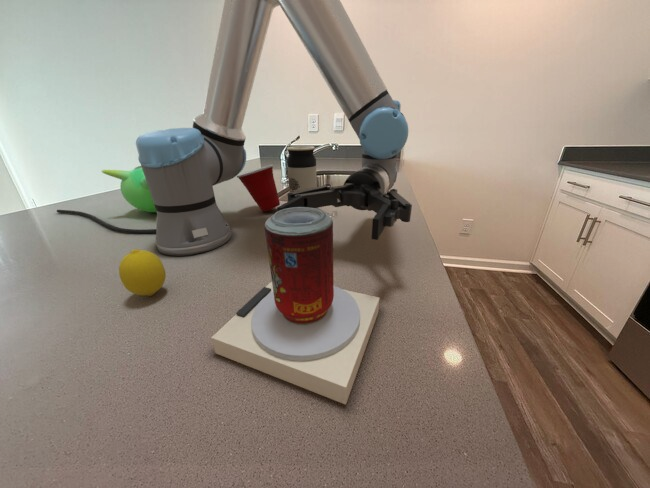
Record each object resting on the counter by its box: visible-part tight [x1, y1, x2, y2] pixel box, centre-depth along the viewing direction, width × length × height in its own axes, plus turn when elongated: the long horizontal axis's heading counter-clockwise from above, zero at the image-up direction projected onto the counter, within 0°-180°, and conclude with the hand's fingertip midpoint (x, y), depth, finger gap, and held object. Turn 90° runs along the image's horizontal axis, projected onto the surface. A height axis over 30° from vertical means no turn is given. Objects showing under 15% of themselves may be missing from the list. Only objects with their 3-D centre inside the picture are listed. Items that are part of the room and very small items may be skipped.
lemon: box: [118, 248, 167, 297], centre depth 39 cm, size 6×6×8 cm
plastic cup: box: [236, 164, 281, 212], centre depth 75 cm, size 11×11×12 cm
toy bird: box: [101, 165, 157, 213], centre depth 77 cm, size 18×17×15 cm
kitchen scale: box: [210, 280, 380, 406], centre depth 32 cm, size 16×14×3 cm
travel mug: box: [286, 145, 319, 209], centre depth 73 cm, size 8×8×18 cm
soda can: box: [264, 207, 335, 325], centre depth 29 cm, size 7×7×12 cm
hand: (324, 222), depth 34 cm, fingers open, 13 cm apart
